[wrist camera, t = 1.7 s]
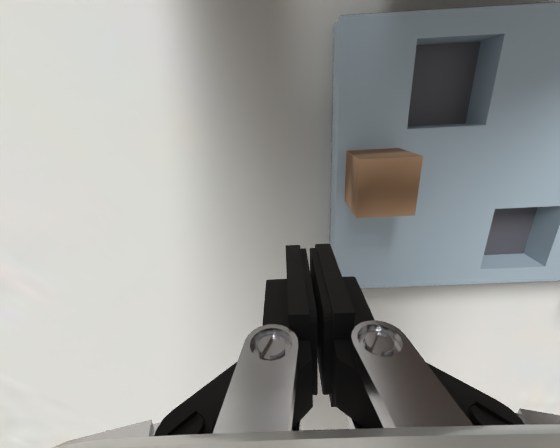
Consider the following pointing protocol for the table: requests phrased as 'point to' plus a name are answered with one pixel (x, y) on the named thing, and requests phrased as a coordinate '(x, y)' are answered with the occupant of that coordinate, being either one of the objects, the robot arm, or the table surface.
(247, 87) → the table surface
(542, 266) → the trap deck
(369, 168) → the walnut cube
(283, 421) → the robot arm
